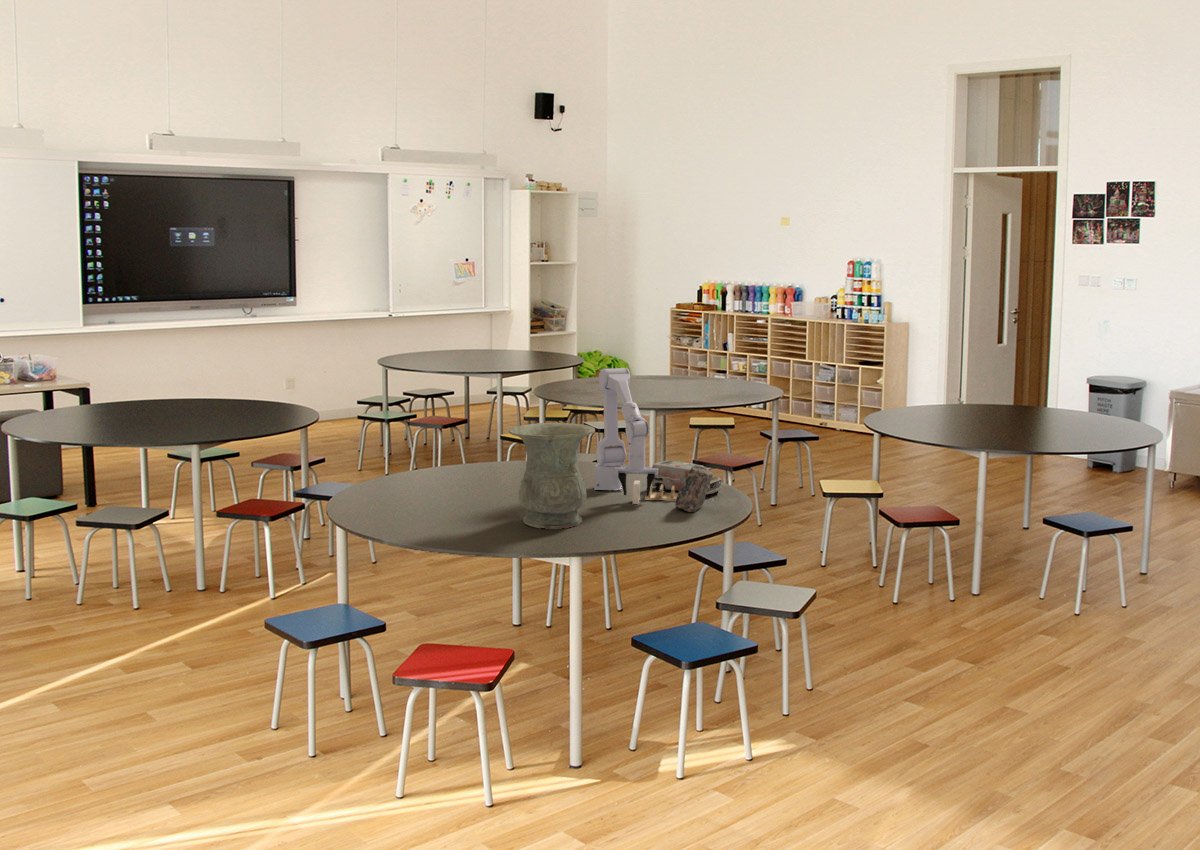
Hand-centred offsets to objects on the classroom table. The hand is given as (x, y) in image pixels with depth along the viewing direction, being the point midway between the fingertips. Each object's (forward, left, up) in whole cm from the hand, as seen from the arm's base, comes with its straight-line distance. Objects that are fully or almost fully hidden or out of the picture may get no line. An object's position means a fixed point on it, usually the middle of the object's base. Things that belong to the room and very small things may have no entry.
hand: (636, 495), depth 381 cm
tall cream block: (0, 0, -3) cm, 3 cm away
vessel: (-24, -31, -3) cm, 39 cm away
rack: (+8, +8, -3) cm, 12 cm away
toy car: (+16, +20, -3) cm, 25 cm away
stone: (+19, -7, -3) cm, 20 cm away
